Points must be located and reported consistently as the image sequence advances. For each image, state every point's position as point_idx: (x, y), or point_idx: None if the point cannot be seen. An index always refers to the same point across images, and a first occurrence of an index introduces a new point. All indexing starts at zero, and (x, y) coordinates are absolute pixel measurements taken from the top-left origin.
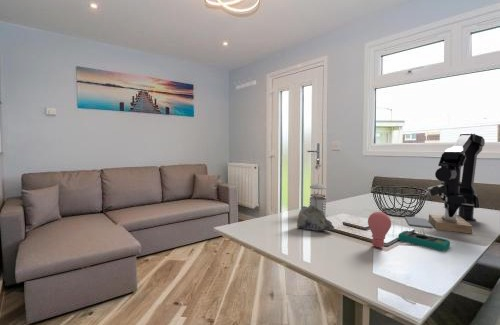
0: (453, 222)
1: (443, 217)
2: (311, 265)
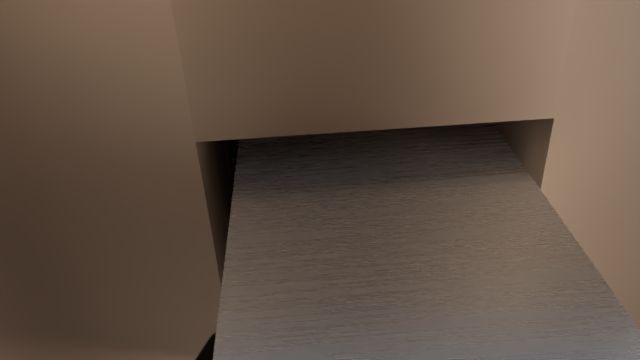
0: (43, 308)
1: (396, 177)
2: None
